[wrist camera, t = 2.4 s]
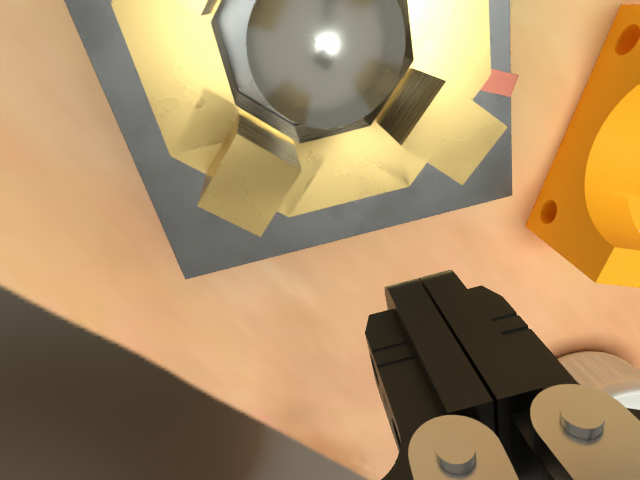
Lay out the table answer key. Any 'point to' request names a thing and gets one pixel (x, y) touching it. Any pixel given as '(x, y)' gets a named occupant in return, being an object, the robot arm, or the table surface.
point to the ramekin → (605, 375)
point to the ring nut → (302, 141)
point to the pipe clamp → (600, 167)
